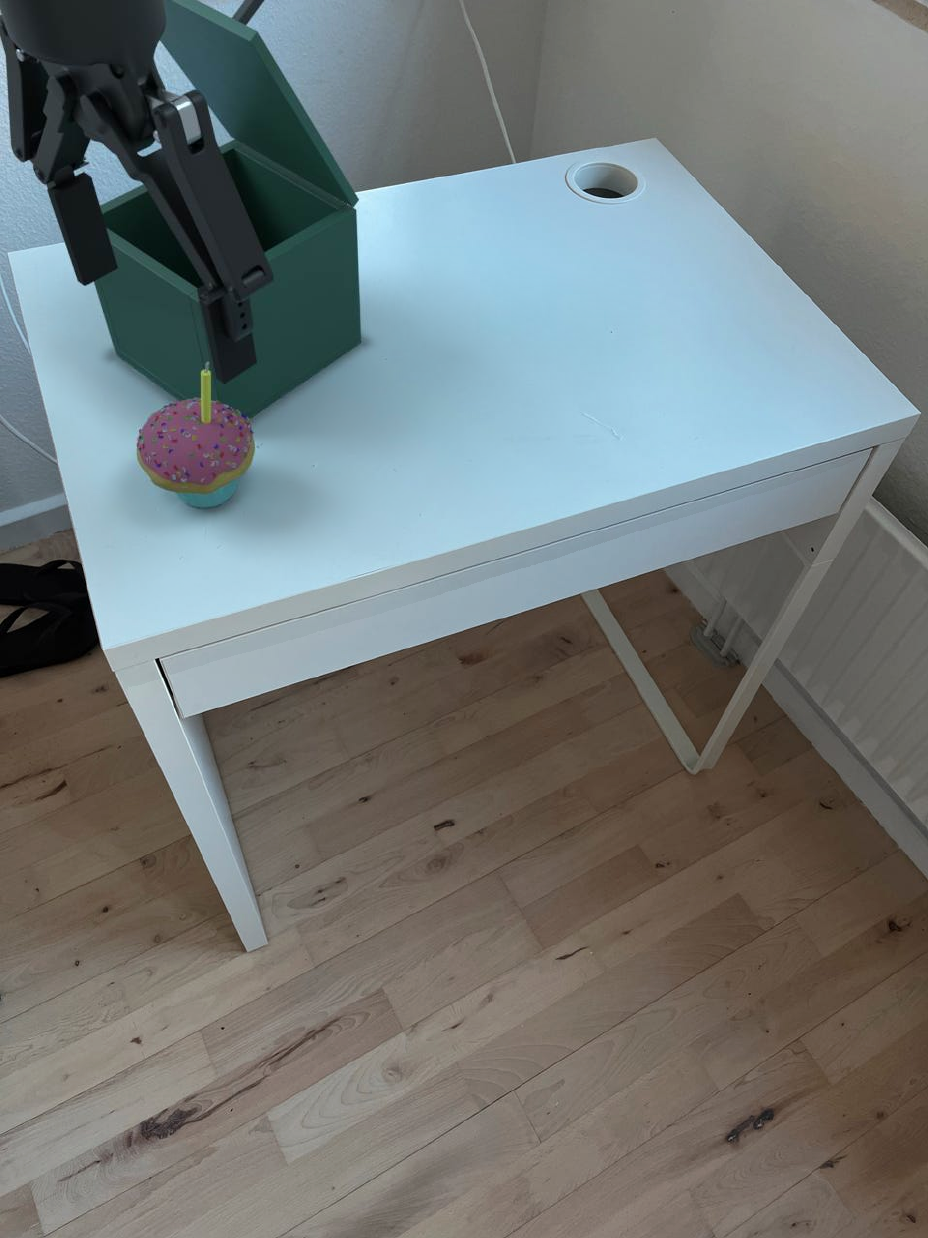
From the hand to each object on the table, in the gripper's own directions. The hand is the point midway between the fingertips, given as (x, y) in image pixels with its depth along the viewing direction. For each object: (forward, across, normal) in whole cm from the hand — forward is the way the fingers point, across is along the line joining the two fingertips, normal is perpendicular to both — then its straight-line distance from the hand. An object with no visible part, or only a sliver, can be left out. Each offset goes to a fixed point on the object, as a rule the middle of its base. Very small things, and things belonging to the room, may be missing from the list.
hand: (165, 321), depth 61 cm
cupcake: (+16, 0, 0) cm, 16 cm away
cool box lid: (-5, +10, -16) cm, 20 cm away
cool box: (+16, +10, -13) cm, 23 cm away
